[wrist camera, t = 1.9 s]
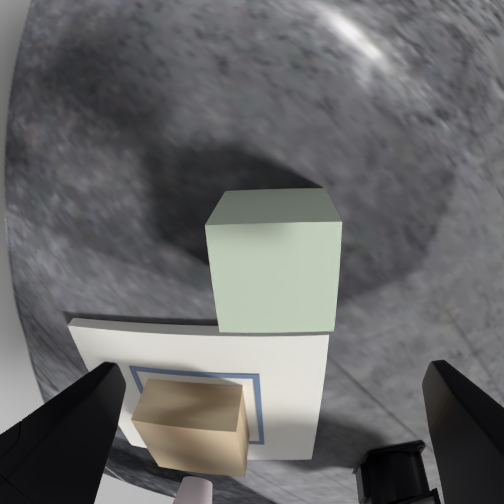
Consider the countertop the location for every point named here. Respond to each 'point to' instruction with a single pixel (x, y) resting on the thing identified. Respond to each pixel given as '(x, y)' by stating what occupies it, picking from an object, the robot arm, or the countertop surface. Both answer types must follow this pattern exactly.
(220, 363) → the white mat
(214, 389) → the maple block
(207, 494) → the smoothie
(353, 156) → the countertop surface
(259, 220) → the sage block
